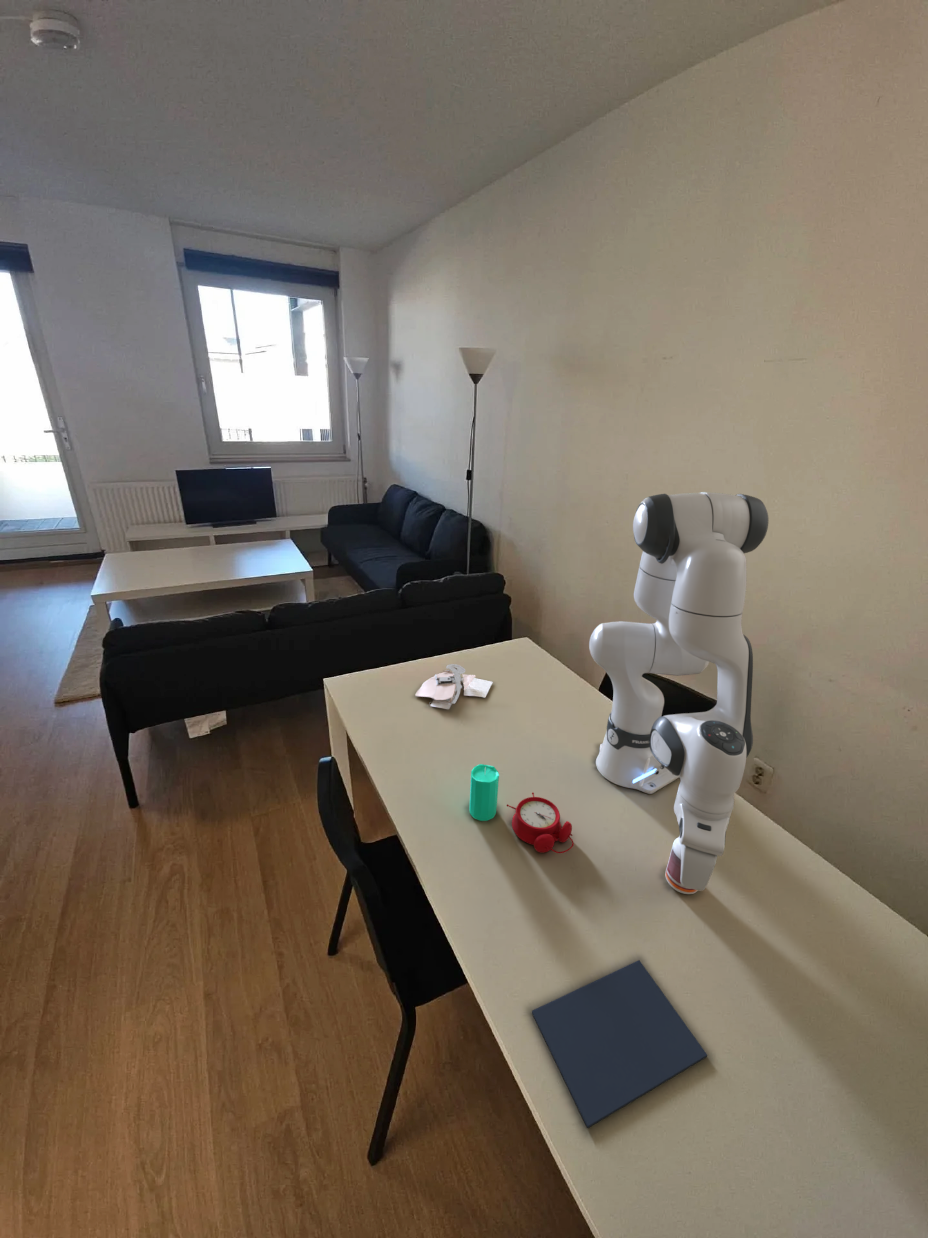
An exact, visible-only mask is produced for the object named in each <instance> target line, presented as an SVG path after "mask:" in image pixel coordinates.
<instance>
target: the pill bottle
mask: <svg viewBox="0 0 928 1238" xmlns="http://www.w3.org/2000/svg"><path fill="white" fill-rule="evenodd" d="M680 877H681V842H680V835H679V836H678V837H677V838H675V839H674V841H673V843H672V846H671V850H670V854H669V858H668V862H667V865H666V868H665V880H666V881H667V883H668V885H669V886H670V887H671V888H672V889H673V890H675V891H676V892H678V893H681V894H684V895H693V894H695V893H697V892H699V890H695V889H691V888H688V887H685V886H682V885H681V881H680Z"/></svg>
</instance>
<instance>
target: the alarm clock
mask: <svg viewBox="0 0 928 1238" xmlns="http://www.w3.org/2000/svg"><path fill="white" fill-rule="evenodd" d="M531 795H532V796H530V797H526V798H523V799H522V800H521V801H519V802H518V804H517V806H516V807H514V806H512V805H509V804H508V803H507V804H506V807H509V808H511V809H513V810H515V813H514V814H513V816H512V820H511V827H512V831H513V832H514V834H515V835H516V836H517V838H518V839H520V840H521V841H523V842H525V843H527V844H529V845H532V846H533V847H534V850H535V851H536V852H537V853H542V854H545V853H547V852H550V851H552V852H554V853H556V854H564V853H567V852H569V851H570V850H571V849H572V848H573V847H574V840H573V839H572V838H571V837H572V836H573V834H572V830H573V825H572V823H571V821H569V820H566V821H565V822H564V823H563V825H562V823H561V814H560V810H559V808H558V807H557V806H556V804H554V803H553V802H552V801H550V800H548V799H547V798H545V797H541V796H535V793H534V792H531ZM569 839H570V841H571V846H570V847H569V848H567V849H564V850H563V851H557V850H555V849H553V848H554V846H555V842H557V841H558V842H559V843H565V842H567V841H568V840H569Z"/></svg>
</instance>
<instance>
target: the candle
mask: <svg viewBox="0 0 928 1238" xmlns="http://www.w3.org/2000/svg"><path fill="white" fill-rule="evenodd" d="M499 780H500V773H499V771H498V770H497V768H496V767H495V766H494V765H489V764H484V763H479V764H477V765H475V766H474V767H473V768H472V769H471V771H470V786H469V787H470V788H469V805H468V806H469V815H470V816H471V817H472V818H473V819H475V820H477V821H480V822H487V821H490V820H492V819H494V817H495V816H496V814H497V808H498V794H499V783H500V782H499Z"/></svg>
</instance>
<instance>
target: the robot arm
mask: <svg viewBox="0 0 928 1238" xmlns="http://www.w3.org/2000/svg"><path fill="white" fill-rule="evenodd" d="M768 529H769V513H768V510H767V507H766V505H765V504H764V502H763V501H762V500H761V499H760V498H757V497H756V496H752V495H748V494H744V493H743V494H742V493H737V494H732V493H723V492H722V493H721V492H711V491H710V492H709V491H708V492H707V491H701V492H691V493H689V492H687V493H686V492H685V493H676V494H667V493H660V494H654V495H650V496H647V497H645V498H643V499H642V501H641V502H640V503H639V504H638V506H637V508H636V511H635V514H634V517H633V521H632V532H633V538H634V542H635V544H636V546H637V547H638V548H639V549H640V550H642V552H641V557H640V561H639V565H638V571H637V574H636V575H637V576H636V580H635V585H634V590H633V600H634V602H635V604H636V606H637V607H638V609H640V610H641V611H642V612H643V613H645V614H646V615H647V616H649V617H651V618H652V619H655V620H656V621H655V622H654V623H652V622H651V623H647V622H646V623H645V622H635V621H624V620H623V621H622V620H619V621H610V622H602V623H600V624H598V625H597V626H596V627H595V628H594V630H593V631H592V632H591V635H590V637H589V642H588V647H589V648H588V649H589V653H590V656H591V657H592V660H593V661H594V662H595V663H596V665H597V666H599V667H600V668H601V669H602V670H604V672H605V673H606V674H607V676H608V677H609V679H610V681H611V684H612V685H611V686H612V690H613V695H612V696H613V697H612V706H611V711H610V713H609V715H608V718H607V723H606V731H605V735H604V736H603V737H604V738H603V742H602V743H600V745H599V752H598V755H597V757H596V759H595V767H596V769H597V770H598V771H597V772H599V774H600V775H601V776H602V777H603V778H605V779H606V780H608V781H609V782H611V783H613V784H615V785H617V786H620V787H623V788H628V789H632V790H633V789H634V790H637V791H640V792H643V793H644V794H649V795H653V794H654V793H656V792H657V791H660V790H661V789H662V788H664V787H666V786H668V785H670V784H671V783H672V782H674V781H676V780H677V779H679V780H680V783H679V784H678V788H677V791H676V792H677V793H676V796H675V800H674V804H673V812H674V814H675V816H676V821H677V824H678V830H679V836H680V842H681V877H680V881H681V885H682V886H685V887H688V888H691V889H695V890H698V892H699V891H700V892H703V891H704V890H706V888H707V886H708V884H709V882H710V879H711V877H712V875H713V872H714V869H715V867H716V863H717V860H718V857H722V856H723V855H724V852H725V846H726V835H727V830H728V827H729V823H730V821H731V819H730V818H731V815H732V812H733V810H734V806H735V794H736V793H737V791H738V790H739V789H740V787H741V783H742V780H743V778H744V773H745V769H746V764H747V763H746V762H747V758H748V756H750V754H751V751H752V749H753V745H754V734H753V727H752V720H751V717H752V716H751V715H752V695H753V694H752V693H753V673H754V672H753V671H754V655H753V654H754V653H753V646H752V643H751V641H750V639H749V638H748V636H746V635H745V634H744V633H743V627H742V621H743V620H742V618H743V612H744V607H745V602H746V595H747V594H746V593H747V581H748V579H747V578H748V577H747V576H748V570H747V568H748V567H747V557H746V555H745V554H748V553H750V552H753V551H755V550H756V549H757V548H758V547H759V546H760V545H761V544H762V542H763V541H764V539H765V537H766V536H767V532H768ZM710 663H712V664H714V665H715V667H716V669H717V682H716V683H717V687H716V688H717V689H716V704H715V705H714V706H713V707H712V708H711V709H709V710H707V711H700V712H689V713H688V712H685V713H684V712H683V713H675V714H673V713H672V714H665V715H663V710H664V707H665V697H664V693H663V692H662V690H661V689H660V688H659V687H658V686H657V685H656V684H654V683H653V682H652V681H650V680H648V679H646V678H645V677H643V675H644V674H656V675H665V676H676V677H681V676H691V675H692V676H693V675H700V674H701V673H703V671H705V670H706V668H708V666H709V664H710ZM662 715H663V716H662Z"/></svg>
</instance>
